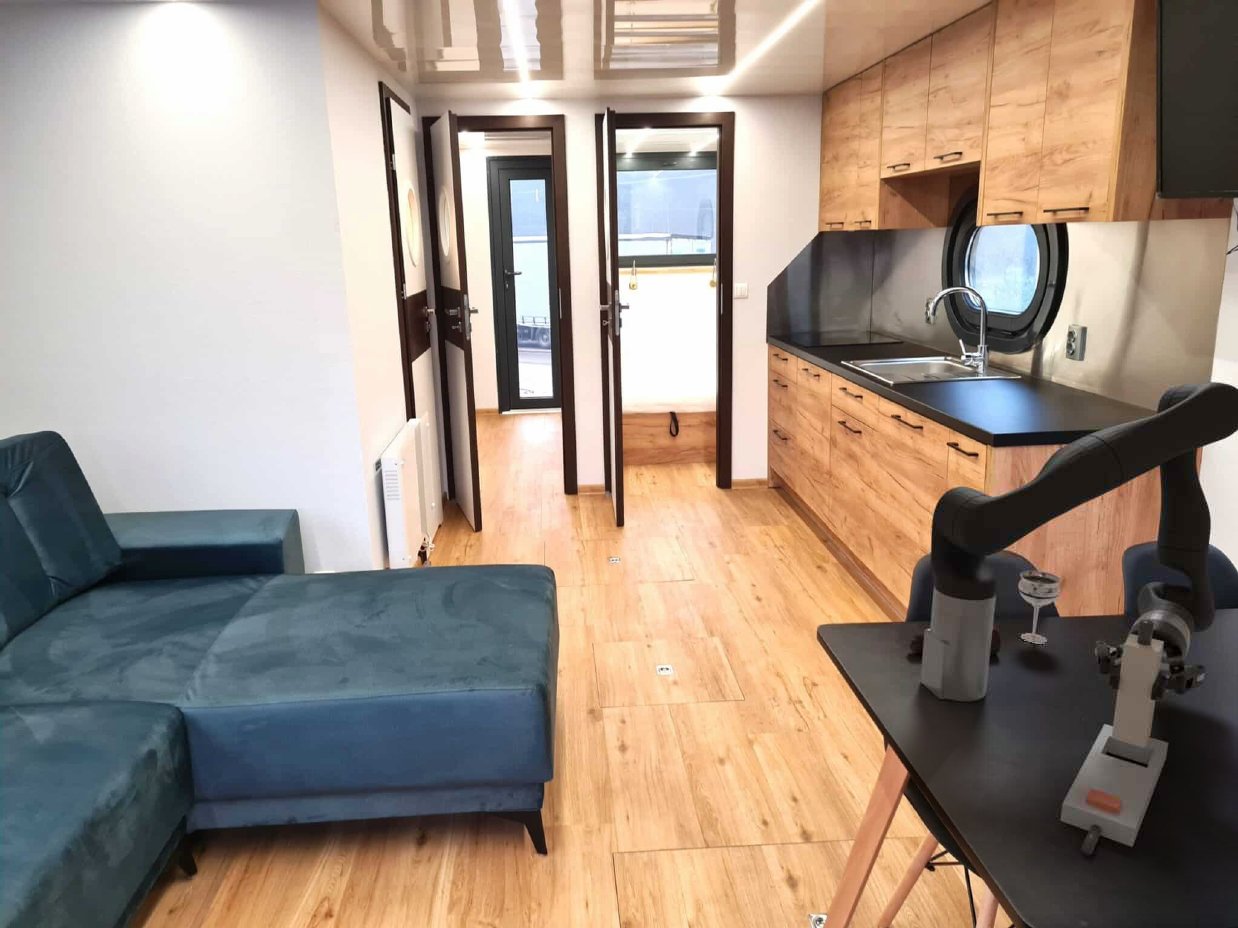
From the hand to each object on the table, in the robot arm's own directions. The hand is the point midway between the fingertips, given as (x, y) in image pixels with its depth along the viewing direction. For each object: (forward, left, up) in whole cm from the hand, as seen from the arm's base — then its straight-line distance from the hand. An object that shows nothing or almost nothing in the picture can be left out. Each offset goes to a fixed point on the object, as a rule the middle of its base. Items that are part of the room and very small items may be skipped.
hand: (1135, 688), depth 117 cm
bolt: (-2, +39, -14) cm, 41 cm away
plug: (+2, +2, -8) cm, 9 cm away
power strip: (-5, -4, -13) cm, 14 cm away
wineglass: (+15, +41, -13) cm, 46 cm away
